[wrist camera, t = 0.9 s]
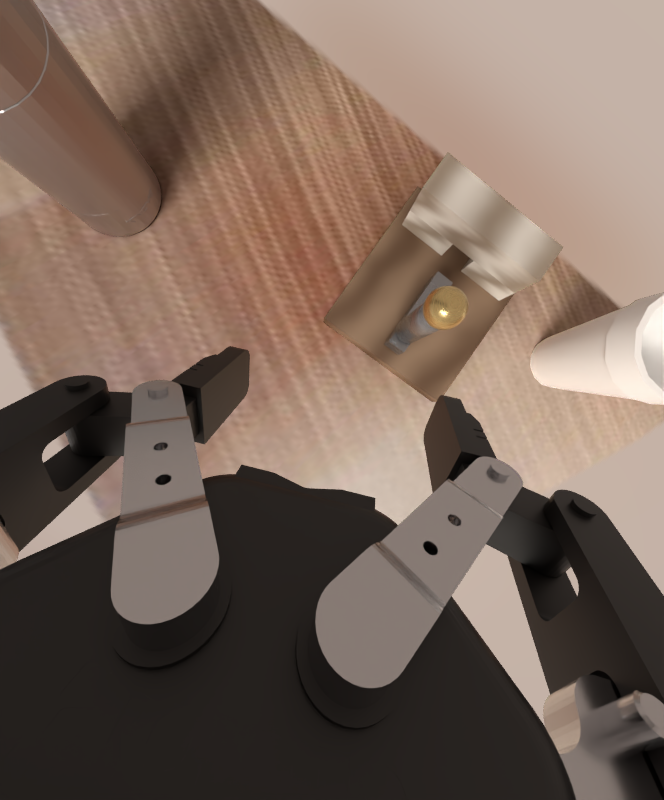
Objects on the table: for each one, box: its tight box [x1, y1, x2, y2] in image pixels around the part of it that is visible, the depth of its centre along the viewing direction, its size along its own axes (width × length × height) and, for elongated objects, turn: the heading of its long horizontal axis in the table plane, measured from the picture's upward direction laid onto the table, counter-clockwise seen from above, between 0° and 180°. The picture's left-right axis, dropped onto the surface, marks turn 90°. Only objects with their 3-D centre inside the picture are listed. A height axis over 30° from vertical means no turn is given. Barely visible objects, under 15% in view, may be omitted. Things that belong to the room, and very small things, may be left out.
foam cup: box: [530, 293, 664, 404], centre depth 30 cm, size 10×9×13 cm
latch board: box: [324, 153, 563, 402], centre depth 31 cm, size 16×18×8 cm
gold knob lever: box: [384, 271, 468, 355], centre depth 27 cm, size 3×9×12 cm, turn 145°
